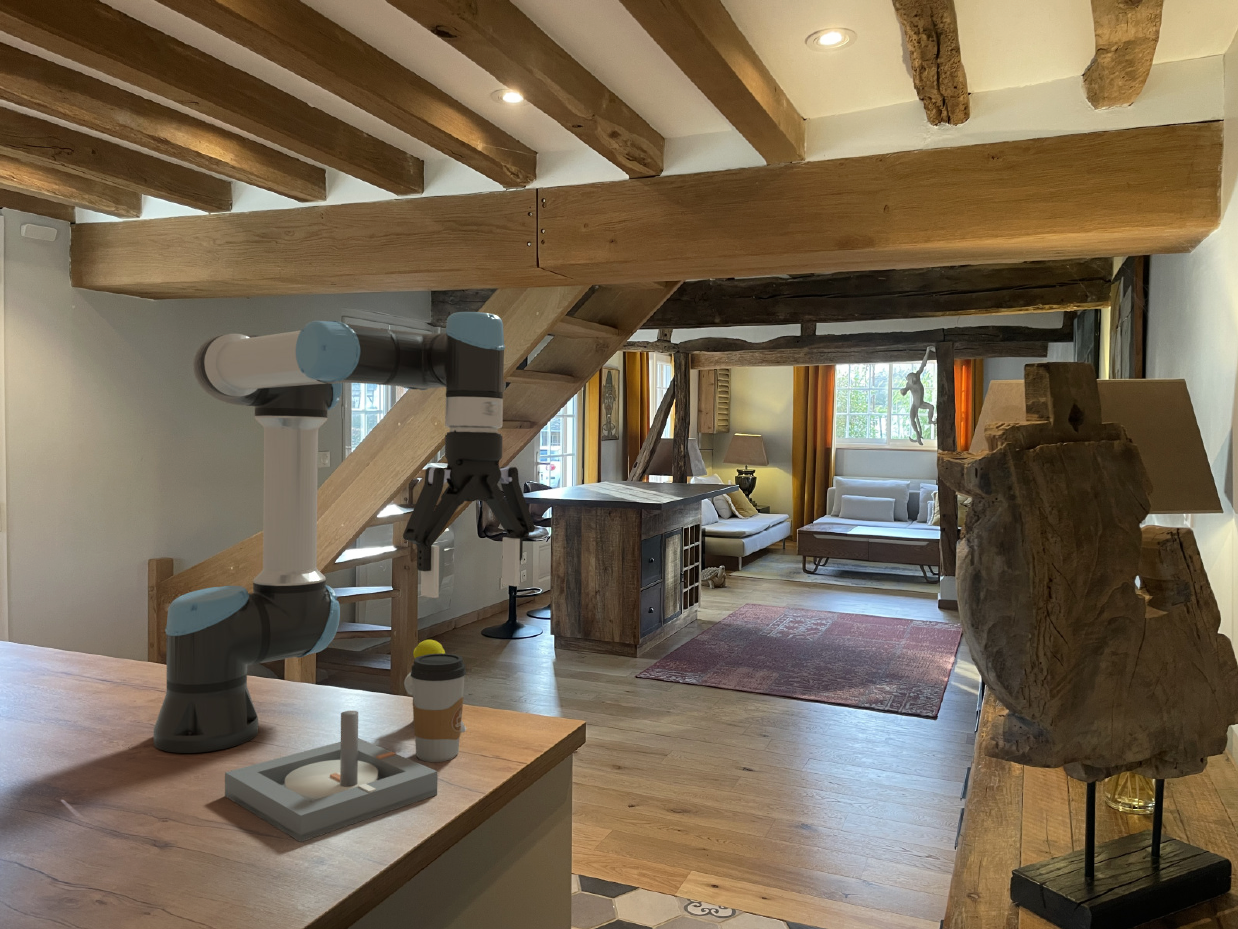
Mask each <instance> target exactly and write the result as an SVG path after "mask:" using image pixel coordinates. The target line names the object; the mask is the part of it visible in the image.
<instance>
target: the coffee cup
mask: <svg viewBox="0 0 1238 929" xmlns="http://www.w3.org/2000/svg"><path fill="white" fill-rule="evenodd" d="M463 658H464V657H462V656H461V655H459V654H456V653H455V654H454V653H445V654H443V653H441V654H428V655H422V656H419V657H417V658H414V661H413V664H412V666H411V671H410V672H411V677H412V686H413V695H412V712H413V716H414V722H413V729H414V740H415V741H414V743H415V755H416V756H417V757H418V759H420V760H422V761H424V762H429V763H430V762H431V763H440V762H446V761H450V760H452V759H454V758H455V757H456V756H457V755H458V754H459V751H460V750H459V748H460V738H461V721H462V720H463V719H462V718H463V706H464V686H465V676H466V674H467V672H466V664H465V663H464V660H463ZM462 722H463V721H462Z"/></svg>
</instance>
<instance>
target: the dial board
mask: <svg viewBox="0 0 1238 929" xmlns="http://www.w3.org/2000/svg"><path fill="white" fill-rule="evenodd" d="M340 756H341V741H339V742H334V743H331V744H327V745H323V746H319V747H316V748H315V747H314V748H312V749H307V750H304V751H300V752H297V753H293V754H289V755H285V756H281V757H278V758H273V759H270V760H267V761H262V762H259V763H255V764H251V765H247V766H244V767H240V768H236V769H232V770H230V771H225V772H224V797H225V798H227V799H229V800H231V801H232V802H234V803H236V804H238V805H239V806H240V807H242V808H243V809H245V810H248V811H249V812H250V813H252V814H254V815H255V816H257V817H259V818H260V819H261V820H263V821H265V822H267V823H268V824H270V825H272V826H273V827H275V828H277V829H279V830H280V831H281V832H282V833H285V834H287V835H288V836H290V837H291V838H293V839H294V840H296V841H298V842H300V843H302V842H304V841H308V840H310V839H313V838H317V837H319V836H322V835H325V834H327V833H331V832H333V831H337V830H339V829H343V828H345V827H348V826H351V825H353V824H357V823H359V822H362V821H364V820H365V821H366V820H368V819H371V818H374V817H376V816H379V815H382V814H385V813H388V812H391V811H394V810H397V809H400V808H402V807H405V806H408V805H411V804H414V803H418V802H420V801H423V800H426V799H429V798H432V797H435V796H437V795H438V771H437V770H436V769H433V768H430V767H428V766H426V765H423V764H421V763H419V762H416V761H414V760H412V759H410V758H406V757H405V756H402V755H400V754H397V753H396V752H394V751H390V750H387V749H385V748H383V747H381V746H378V745H375V744H374V743H372V742H369V741H366V740H365V739H362V738H359V737H358V761H362V762H366V763H369V764H372V765H373V766H375V767H376V768H377V770H378V780H377V781H374V782H371V783H368V784H362V785H358V787H355V788H352V789H348V790H345V791H342V792H339V793H336V794H332V795H329V796H326V797H323V798H320V799H316V800H313V801H310V800H308V799H306V798H304V797H302V796H300V795H299V794H297V793H295V792H293V791H291V790H289V789H287V788H286V787H285V778H286V776H287V775H288V774H289V773H290V772H292V771H294V770H295V769H298V768H300V767H303V766H305V765H309V764H313V763H317V762H322V761H330V760H340Z"/></svg>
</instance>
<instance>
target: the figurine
mask: <svg viewBox="0 0 1238 929" xmlns="http://www.w3.org/2000/svg"><path fill="white" fill-rule="evenodd" d="M441 653H443V654H446V651H445V649H444V648H443V645H442V644H441V643H440V642H438V641H437V640H433V639H424V640H423V641H421V642H418V644H417V646H416V647H415V648H414V649H413V652H412V654H413V655H412V656H413V657H414V659H415V658H417V657H419V656H422V655H428V654H441ZM403 684H404V688H405V691H406V692H407V694H408V695H409V696H413V686H412V677H411V671H409V673H408V675H406V677H405V678H404V682H403ZM412 719H413V720H412V722H413V723H414V716H413V718H412ZM467 728H468V727H466V726H465V724H464V721H461V733H465V732H466V730H467Z"/></svg>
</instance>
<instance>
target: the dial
mask: <svg viewBox="0 0 1238 929" xmlns="http://www.w3.org/2000/svg"><path fill="white" fill-rule="evenodd" d="M358 738H359V711H357V710H345V711H342V712H341V713H340V742H341V756H340V760H330V761H322V762H317V763H313V764H309V765H305V766H303V767H300V768H298V769H295V770H294V771H292V772H290V773H289V774H288V775H287V776H286V778H285V787H286V788H287V789H289V790H291V791H293V792H295V793H297V794H299V795H300V796H302V797H304V798H306V799H308V800H310V801H313V800H316V799H320V798H323V797H326V796H329V795H332V794H336V793H339V792H342V791H345V790H348V789H352V788H355V787H358V785H362V784H368V783H371V782H374V781H377V780H378V770H377V768H376V767H375V766H373V765H372V764H369V763H366V762H362V761H358Z"/></svg>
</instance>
